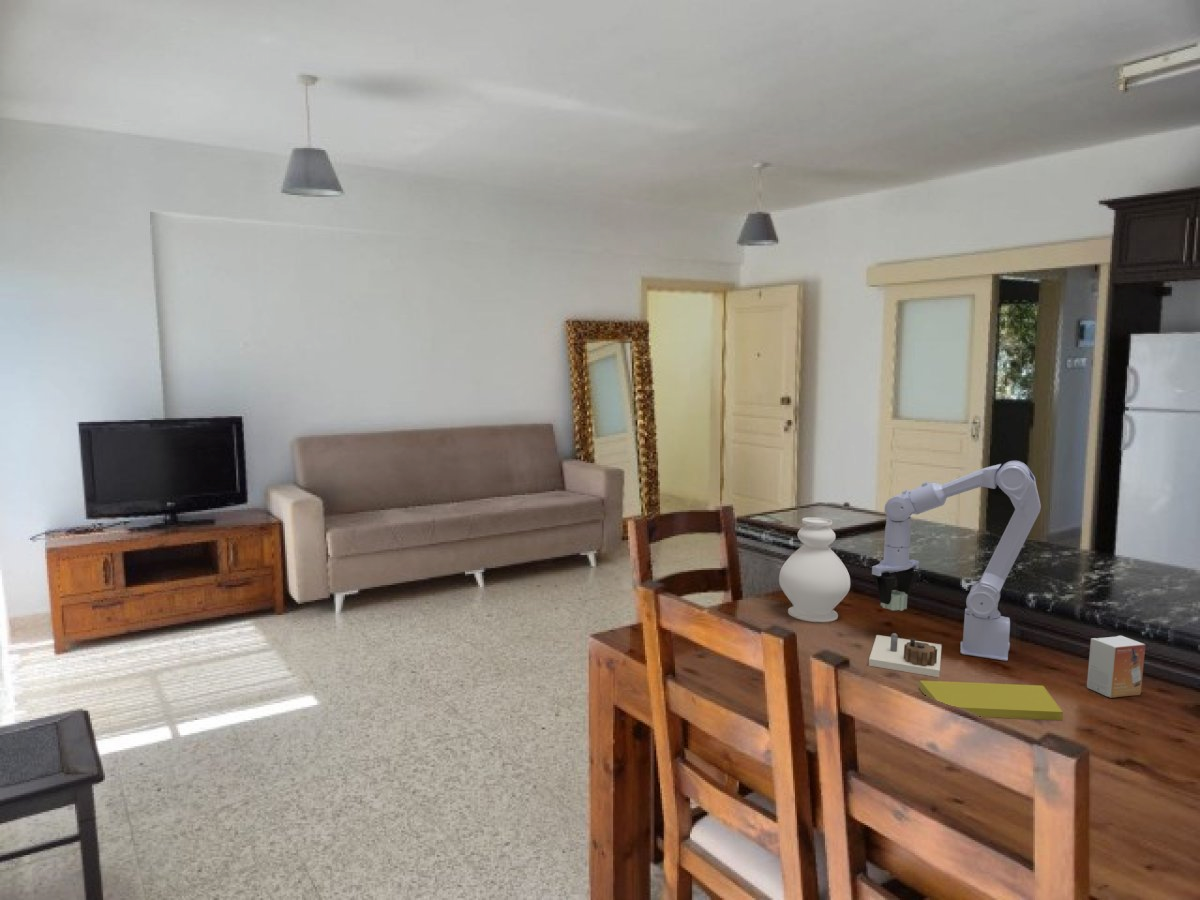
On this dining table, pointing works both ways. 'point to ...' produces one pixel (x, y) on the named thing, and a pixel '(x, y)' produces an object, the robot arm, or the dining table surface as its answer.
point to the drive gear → (920, 653)
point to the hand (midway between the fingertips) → (893, 601)
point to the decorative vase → (814, 574)
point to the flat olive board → (995, 699)
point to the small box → (1115, 666)
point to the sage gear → (897, 601)
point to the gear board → (900, 656)
